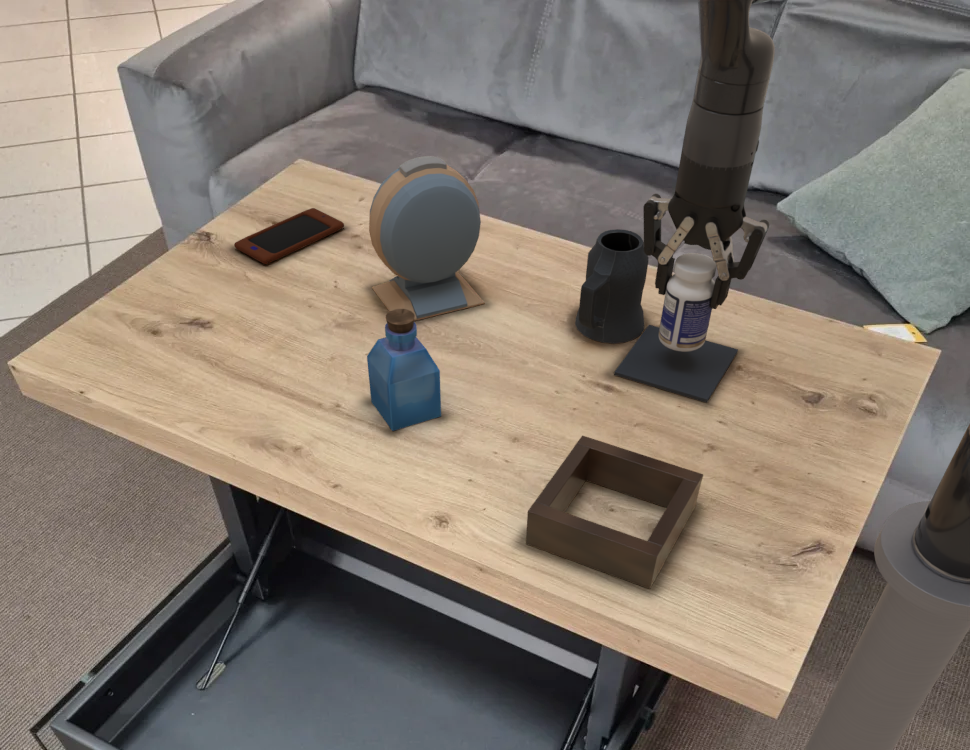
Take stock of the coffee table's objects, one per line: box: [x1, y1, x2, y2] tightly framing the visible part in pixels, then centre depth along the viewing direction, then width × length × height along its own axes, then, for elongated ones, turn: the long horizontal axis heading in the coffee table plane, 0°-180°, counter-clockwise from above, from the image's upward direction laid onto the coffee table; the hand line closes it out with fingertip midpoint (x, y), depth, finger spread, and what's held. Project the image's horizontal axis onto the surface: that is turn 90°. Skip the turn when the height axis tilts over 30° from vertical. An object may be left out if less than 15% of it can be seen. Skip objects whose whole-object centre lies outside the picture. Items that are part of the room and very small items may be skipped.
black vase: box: [574, 228, 650, 344], centre depth 117 cm, size 12×9×11 cm
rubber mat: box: [613, 324, 739, 404], centre depth 117 cm, size 12×12×1 cm
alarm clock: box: [368, 155, 485, 322], centre depth 119 cm, size 14×10×18 cm
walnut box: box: [525, 435, 704, 590], centre depth 96 cm, size 14×14×4 cm
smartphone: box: [233, 207, 345, 265], centre depth 135 cm, size 7×1×15 cm
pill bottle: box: [659, 252, 717, 352], centre depth 110 cm, size 6×6×10 cm
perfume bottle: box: [366, 309, 442, 432], centre depth 106 cm, size 6×6×12 cm
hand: (689, 298), depth 110 cm, fingers closed on pill bottle, 5 cm apart
